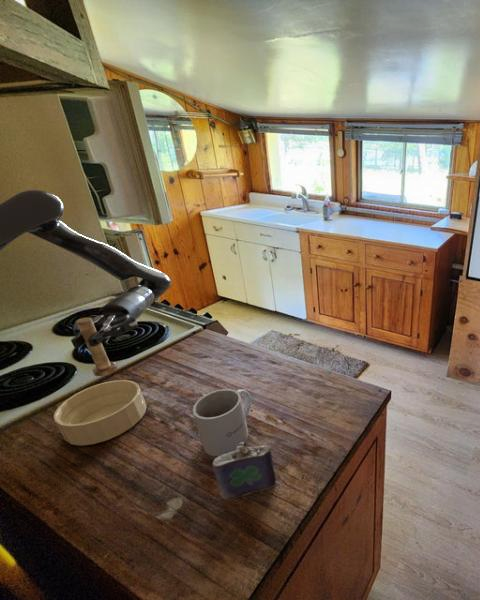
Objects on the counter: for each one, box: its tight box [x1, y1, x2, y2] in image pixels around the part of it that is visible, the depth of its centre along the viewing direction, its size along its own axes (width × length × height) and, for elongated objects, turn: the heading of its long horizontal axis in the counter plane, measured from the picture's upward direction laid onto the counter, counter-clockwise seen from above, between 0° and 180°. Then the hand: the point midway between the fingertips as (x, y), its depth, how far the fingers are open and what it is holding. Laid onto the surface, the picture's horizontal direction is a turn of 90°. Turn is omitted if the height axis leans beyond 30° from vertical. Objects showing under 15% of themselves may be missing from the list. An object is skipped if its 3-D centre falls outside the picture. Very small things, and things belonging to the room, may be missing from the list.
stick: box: [75, 316, 118, 377], centre depth 78 cm, size 4×4×15 cm
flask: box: [212, 442, 277, 501], centre depth 58 cm, size 9×3×11 cm, turn 110°
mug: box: [192, 388, 252, 457], centre depth 69 cm, size 12×9×10 cm
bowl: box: [53, 379, 147, 447], centre depth 71 cm, size 14×14×6 cm
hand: (83, 343), depth 74 cm, fingers closed on stick, 2 cm apart
